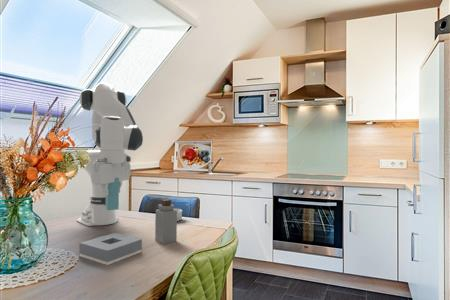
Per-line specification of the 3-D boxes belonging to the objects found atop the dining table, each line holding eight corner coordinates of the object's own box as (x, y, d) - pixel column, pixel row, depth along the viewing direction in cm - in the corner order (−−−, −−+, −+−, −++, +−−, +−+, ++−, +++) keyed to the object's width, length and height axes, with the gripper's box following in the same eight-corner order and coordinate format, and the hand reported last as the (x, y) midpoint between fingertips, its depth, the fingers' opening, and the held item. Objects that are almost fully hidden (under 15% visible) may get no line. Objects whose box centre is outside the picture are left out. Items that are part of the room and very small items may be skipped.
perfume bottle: (155, 240, 136) (155, 199, 135) (168, 237, 140) (169, 198, 140) (162, 244, 130) (163, 201, 130) (176, 241, 135) (176, 200, 135)
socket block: (79, 256, 115) (79, 242, 115) (114, 244, 129) (114, 232, 129) (107, 265, 107) (107, 250, 107) (141, 251, 120) (142, 239, 120)
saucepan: (182, 214, 187) (183, 205, 187) (182, 222, 168) (182, 212, 168) (163, 215, 186) (163, 205, 186) (160, 223, 166) (160, 212, 166)
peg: (105, 208, 118) (105, 177, 118) (116, 207, 120) (116, 176, 120) (107, 210, 115) (107, 178, 115) (118, 209, 117) (118, 177, 117)
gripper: (102, 159, 107) (102, 199, 107) (133, 157, 126) (133, 191, 127) (86, 158, 108) (86, 198, 108) (119, 157, 128) (119, 190, 128)
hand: (111, 194), depth 117 cm, fingers closed on peg, 6 cm apart
